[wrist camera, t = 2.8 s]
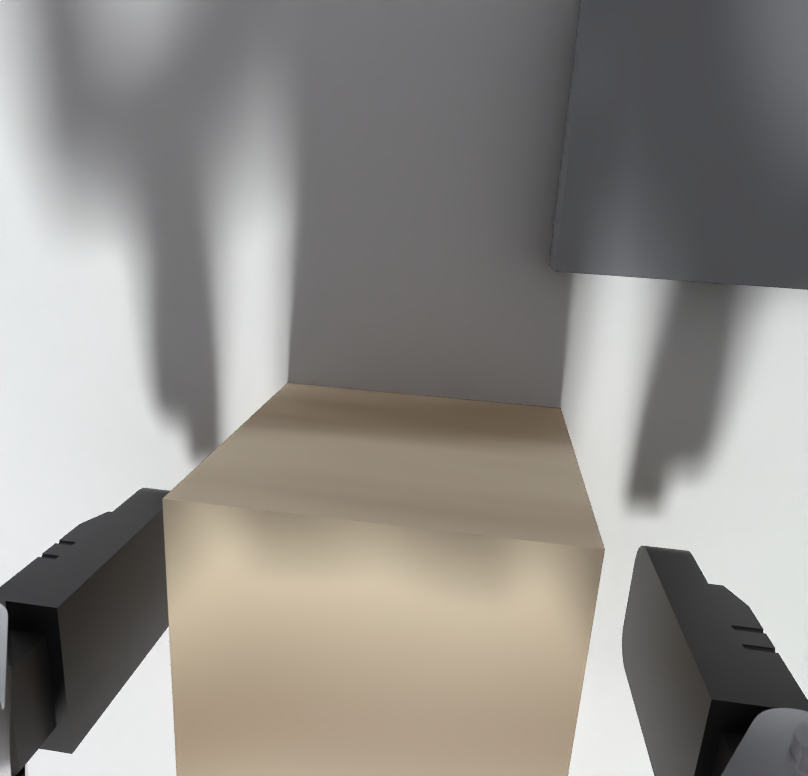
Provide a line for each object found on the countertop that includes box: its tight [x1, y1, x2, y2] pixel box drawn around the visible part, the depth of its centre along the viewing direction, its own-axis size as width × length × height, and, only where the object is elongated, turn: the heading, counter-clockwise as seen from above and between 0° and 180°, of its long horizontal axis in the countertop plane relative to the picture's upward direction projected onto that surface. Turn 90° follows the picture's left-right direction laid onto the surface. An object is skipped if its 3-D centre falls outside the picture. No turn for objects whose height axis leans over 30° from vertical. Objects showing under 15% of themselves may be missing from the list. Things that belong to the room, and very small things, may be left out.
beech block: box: [162, 383, 605, 776], centre depth 11 cm, size 5×5×5 cm
